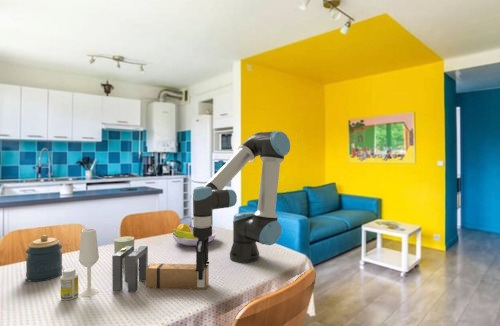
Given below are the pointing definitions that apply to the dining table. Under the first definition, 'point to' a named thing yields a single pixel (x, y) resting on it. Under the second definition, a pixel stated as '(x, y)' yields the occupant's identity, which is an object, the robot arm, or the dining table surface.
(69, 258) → the dining table surface
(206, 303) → the dining table surface
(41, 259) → the canister
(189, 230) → the fruit bowl
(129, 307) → the dining table surface
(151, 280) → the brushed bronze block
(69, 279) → the supplement bottle
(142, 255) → the collar
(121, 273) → the collar
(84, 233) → the champagne flute
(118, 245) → the can
